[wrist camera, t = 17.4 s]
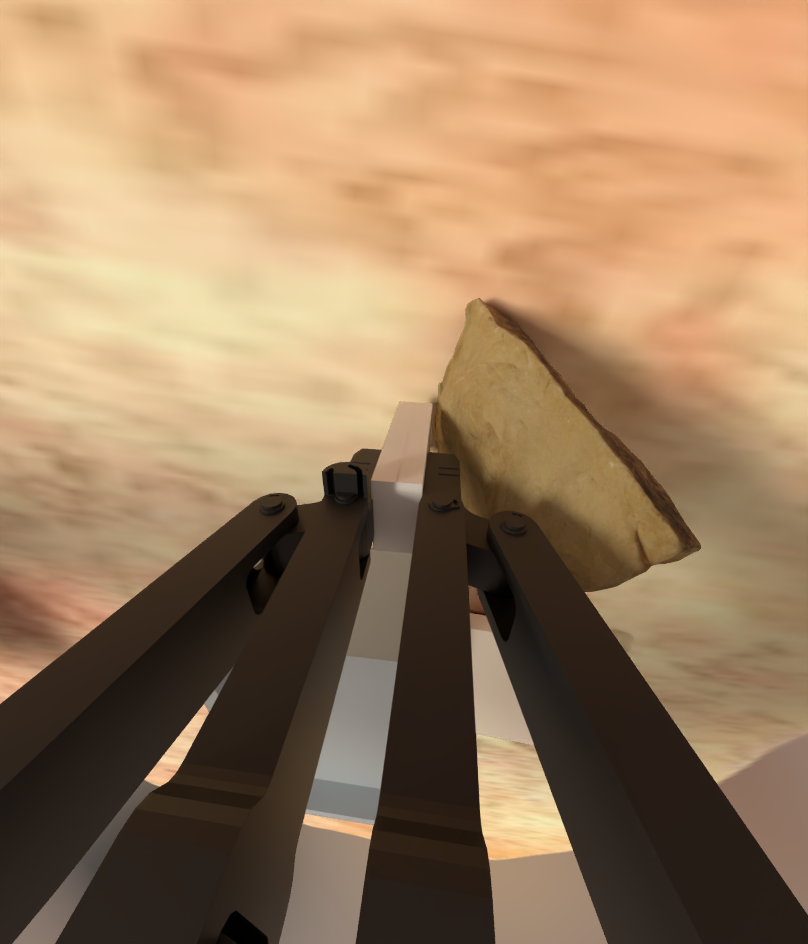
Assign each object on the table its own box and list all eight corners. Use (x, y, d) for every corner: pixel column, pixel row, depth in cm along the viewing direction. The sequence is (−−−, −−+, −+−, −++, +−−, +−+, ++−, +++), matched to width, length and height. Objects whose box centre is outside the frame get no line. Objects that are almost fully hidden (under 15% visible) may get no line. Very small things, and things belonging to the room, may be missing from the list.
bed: (293, 714, 35) (261, 806, 29) (239, 536, 23) (165, 633, 17) (410, 731, 34) (402, 830, 28) (421, 553, 22) (410, 663, 16)
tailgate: (430, 723, 31) (562, 751, 29) (442, 623, 23) (619, 653, 22) (432, 708, 32) (559, 734, 30) (444, 608, 24) (612, 636, 23)
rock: (495, 585, 20) (681, 489, 14) (418, 691, 13) (730, 580, 7) (388, 434, 22) (516, 302, 16) (271, 453, 15) (429, 230, 9)
